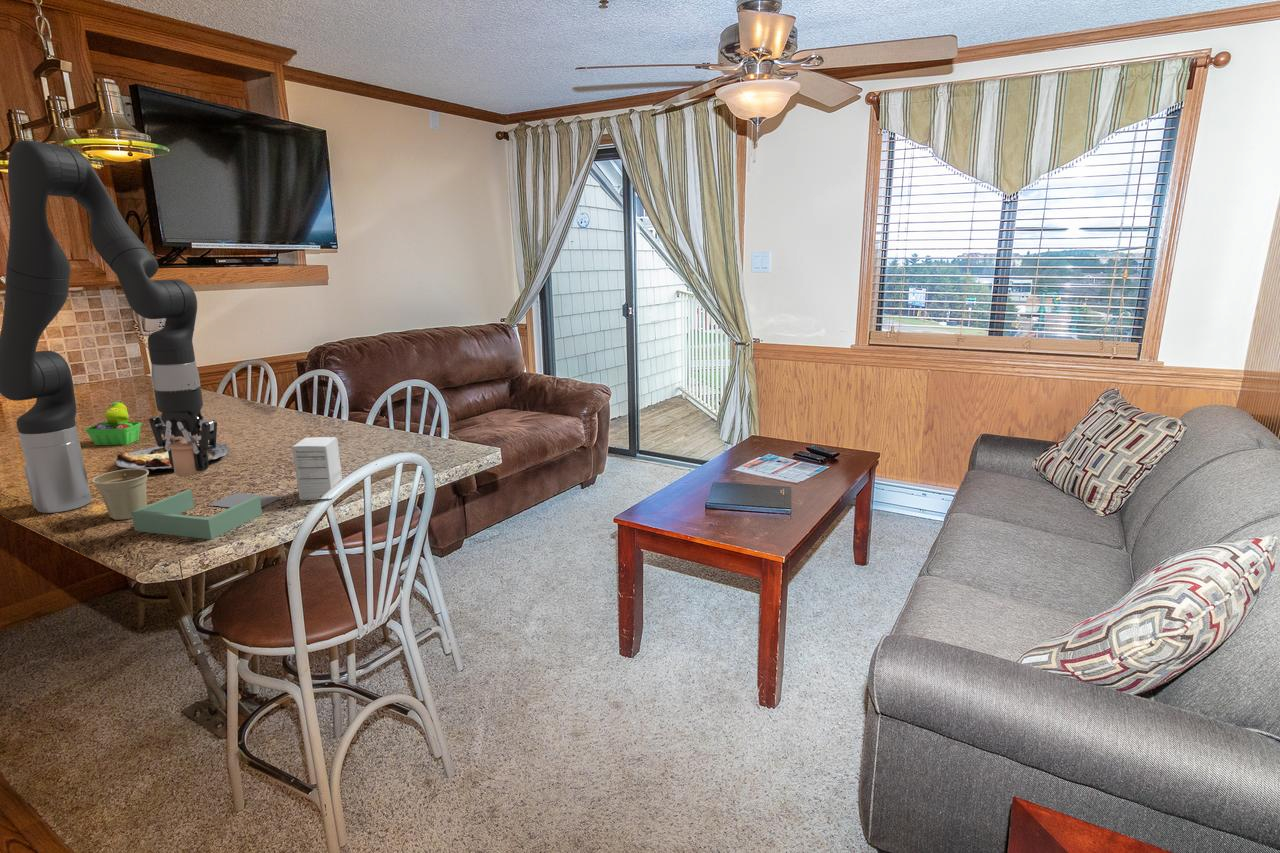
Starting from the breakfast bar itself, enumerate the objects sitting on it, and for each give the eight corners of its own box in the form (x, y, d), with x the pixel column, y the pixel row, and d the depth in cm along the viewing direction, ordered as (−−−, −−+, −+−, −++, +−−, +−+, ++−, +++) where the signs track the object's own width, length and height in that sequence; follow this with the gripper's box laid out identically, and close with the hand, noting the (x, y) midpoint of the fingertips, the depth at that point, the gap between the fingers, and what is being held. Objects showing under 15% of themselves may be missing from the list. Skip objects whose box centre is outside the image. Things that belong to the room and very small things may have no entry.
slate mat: (208, 505, 146) (207, 505, 146) (237, 493, 154) (236, 492, 154) (255, 510, 144) (255, 509, 144) (282, 497, 151) (282, 497, 151)
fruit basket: (86, 446, 190) (78, 407, 187) (109, 438, 198) (101, 400, 196) (128, 446, 190) (120, 407, 187) (149, 438, 199) (142, 400, 196)
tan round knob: (165, 475, 133) (160, 445, 131) (190, 466, 138) (186, 438, 137) (190, 477, 131) (185, 448, 130) (214, 468, 137) (210, 440, 135)
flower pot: (99, 527, 135) (90, 486, 133) (100, 512, 142) (92, 473, 140) (156, 516, 140) (149, 477, 138) (155, 503, 148) (148, 465, 145)
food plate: (133, 481, 161) (131, 467, 160) (101, 464, 174) (99, 451, 174) (245, 460, 180) (243, 447, 179) (208, 445, 194) (206, 434, 193)
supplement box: (311, 489, 157) (304, 436, 154) (344, 488, 157) (338, 436, 154) (298, 500, 150) (291, 445, 147) (332, 499, 150) (326, 445, 147)
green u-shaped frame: (134, 530, 133) (131, 511, 132) (190, 507, 146) (187, 489, 145) (211, 539, 129) (208, 520, 128) (262, 514, 142) (259, 496, 141)
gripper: (128, 386, 128) (143, 471, 133) (191, 391, 125) (204, 478, 130) (163, 379, 135) (176, 460, 140) (224, 384, 132) (235, 466, 137)
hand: (190, 468), depth 135 cm, fingers closed on tan round knob, 5 cm apart
